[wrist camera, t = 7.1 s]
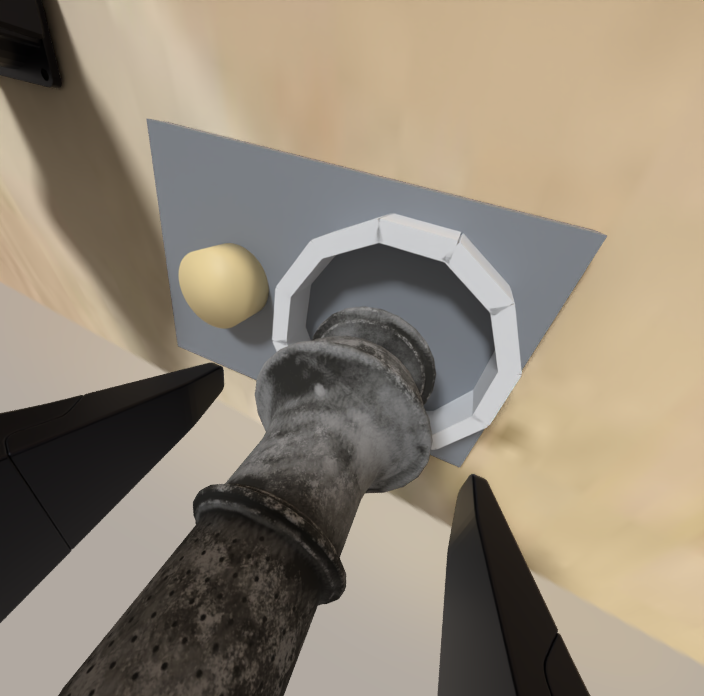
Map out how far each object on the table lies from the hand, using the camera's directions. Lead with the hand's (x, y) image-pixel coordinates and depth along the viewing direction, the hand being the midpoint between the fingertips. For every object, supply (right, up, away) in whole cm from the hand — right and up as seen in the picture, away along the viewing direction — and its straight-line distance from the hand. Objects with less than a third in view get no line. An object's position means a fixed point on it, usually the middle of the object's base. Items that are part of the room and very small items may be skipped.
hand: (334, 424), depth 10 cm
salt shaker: (+1, +2, +3) cm, 4 cm away
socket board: (-1, +5, +7) cm, 9 cm away
